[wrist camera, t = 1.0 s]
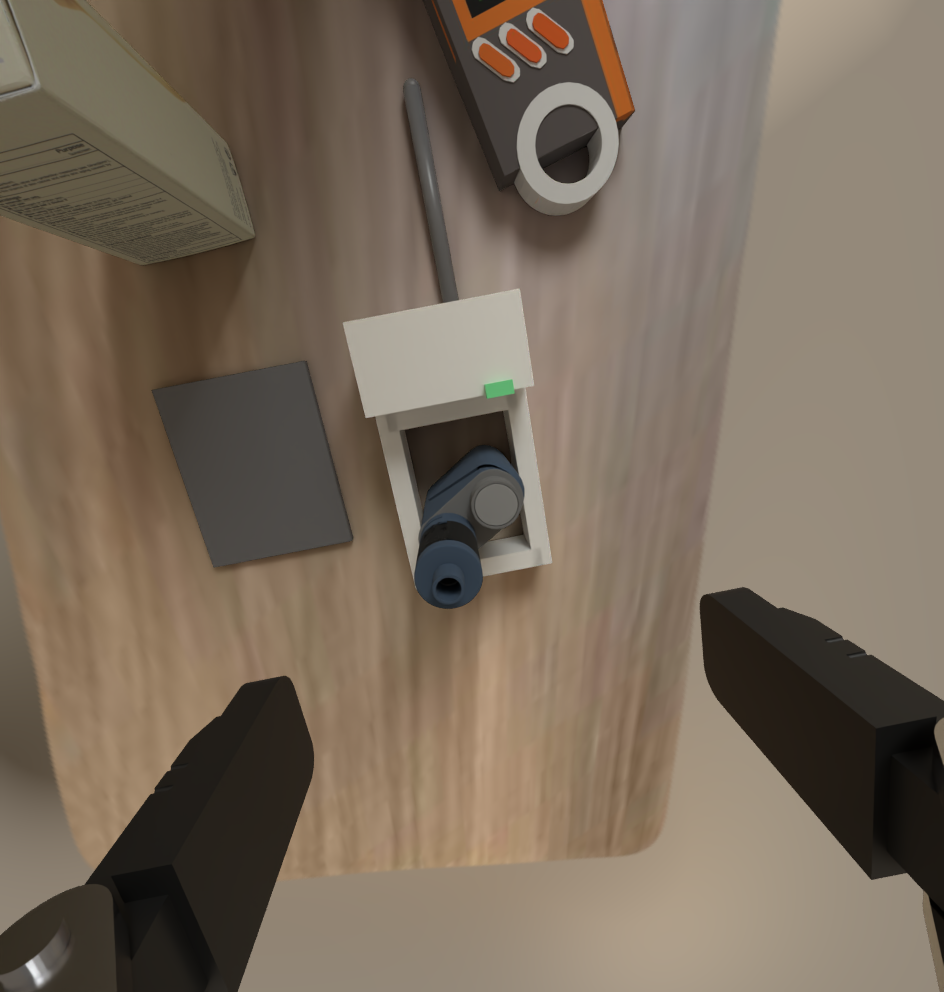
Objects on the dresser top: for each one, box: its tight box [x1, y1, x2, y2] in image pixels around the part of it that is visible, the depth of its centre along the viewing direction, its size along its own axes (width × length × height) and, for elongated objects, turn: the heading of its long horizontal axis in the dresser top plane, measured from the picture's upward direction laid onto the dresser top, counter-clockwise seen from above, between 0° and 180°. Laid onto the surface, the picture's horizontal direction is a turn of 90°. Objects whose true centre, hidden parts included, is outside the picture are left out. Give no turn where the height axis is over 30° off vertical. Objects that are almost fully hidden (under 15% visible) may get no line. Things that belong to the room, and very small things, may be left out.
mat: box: [152, 361, 353, 567], centre depth 25 cm, size 10×8×1 cm
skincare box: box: [0, 0, 255, 265], centre depth 16 cm, size 6×4×12 cm
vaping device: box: [414, 445, 525, 609], centre depth 20 cm, size 3×5×12 cm, turn 132°
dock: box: [343, 78, 552, 588], centre depth 22 cm, size 24×8×5 cm, turn 11°
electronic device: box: [423, 0, 635, 216], centre depth 20 cm, size 7×3×15 cm
